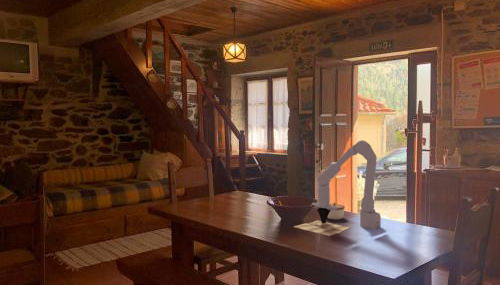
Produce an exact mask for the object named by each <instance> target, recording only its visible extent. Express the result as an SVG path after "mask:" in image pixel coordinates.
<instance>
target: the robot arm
mask: <svg viewBox="0 0 500 285" xmlns="http://www.w3.org/2000/svg"><path fill="white" fill-rule="evenodd" d="M358 154H359V155H360V156H362V157H363V158H364V159H365V160H366V166H365V167H366V168H365V169H366V170H365V177H364V187H363V188H364V190H363V197H362V199H361V203H360V209H359V226H360V227H361V228H364V229H370V230H377V229H381V225H382V224H381V223H382V222H381V221H382V219H381V218H382V217H381V214H380V212H377V211H376V209H375V200H374V188H375V180H376V179H375V178H376V170H377V169H376V168H377V159H378V158H377V157H378V156H377V155H376V153H375V151H374V149H373V148H372V146H371V145H370V143H369V142H367V141H365V140H363V139H362V140H358V141H357V142H356V143H355V144H354V145H352V146H351V147H349V148H348V149H347V150H346V151H345V152H344V153H343V154H342V155H341V157H340V158H339V159H338V160H337V161H336V162H335V161H334V162H330V163H329V164H328V166H327V167H326V168H325V169H324V170H322V171H321V174H319V175H318V177H317V183H318V188H317V191H318V192H317V195H318V197H317V199H318V201H317V202H312V203H311V206H312V205H314V206H315V207H314V208H317V209H316V210H317V213H318V215H319V218H320V221H321V222H322V223H326V222H327V220H328V218H327V217H328V214H329V212H330V210H332V211H337V207H335V206H331V205H330V204H331V203H330V181H331V180H333V179H334V178H335V176H337V175H338V173H339V172H340V171H341V167H342V166H343V164H345V163H346V162H347V161H348V160H349V159H350V158H351V157H352V156H353V157H354V156H356V155H358Z"/></svg>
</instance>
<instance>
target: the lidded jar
mask: <svg viewBox="0 0 500 285" xmlns="http://www.w3.org/2000/svg"><path fill="white" fill-rule="evenodd" d="M329 204H330V205H331V206H335V207H337V211H332V210H330V212H329V214H328V217H327V219H328V220H341V219H342V218H343V217H344V215H345V205H343V204H341V203H340V204H338V203H336V202H333V203H329Z"/></svg>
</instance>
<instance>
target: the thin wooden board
mask: <svg viewBox="0 0 500 285" xmlns="http://www.w3.org/2000/svg"><path fill="white" fill-rule="evenodd" d="M293 228H296V229H301V230H304V231H309V232H312V233H316V234H320V235H325V236H327V237H330V236H333V235H337V234H340V233H342V231H337V230H333V229H329V228H325V227H320V226H316V225H312V224H308V223H307V222H305V223H302V224H299V225H294V226H293Z"/></svg>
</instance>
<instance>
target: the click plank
mask: <svg viewBox="0 0 500 285" xmlns="http://www.w3.org/2000/svg"><path fill="white" fill-rule="evenodd" d="M307 224H311V225H316V226H320V227H324V228H328V229H333V230H337V231H341V232H343V231H345V230H349V229H351V227H349V226H344V225H340V224H335V223H330V222H327V221H326V223H322V222H321V220H314V221H313V222H309V223H307Z"/></svg>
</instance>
